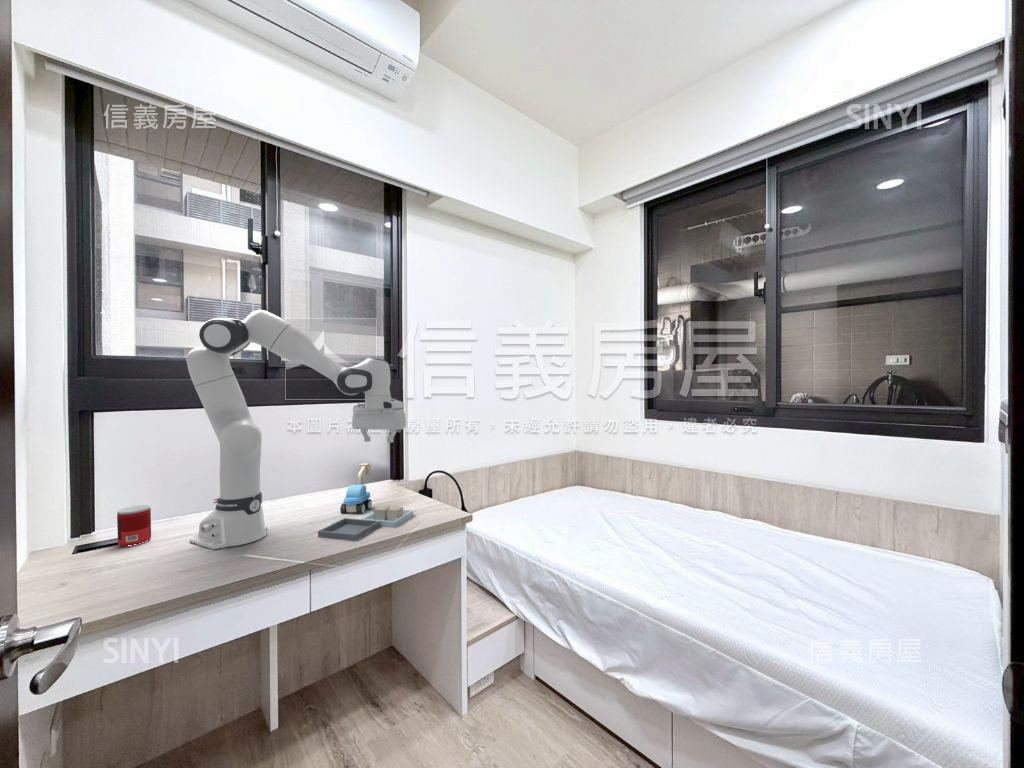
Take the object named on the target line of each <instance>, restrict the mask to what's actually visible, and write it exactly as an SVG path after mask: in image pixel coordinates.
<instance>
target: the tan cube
mask: <svg viewBox="0 0 1024 768" xmlns="http://www.w3.org/2000/svg"><path fill="white" fill-rule="evenodd" d="M388 509H390V506H383V505H379V506H377V507H376V508H374V509H373V513H374V520H384V521H385V520H387V510H388Z"/></svg>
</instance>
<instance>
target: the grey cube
mask: <svg viewBox="0 0 1024 768" xmlns="http://www.w3.org/2000/svg"><path fill="white" fill-rule="evenodd" d="M403 510H404V507H403V506H391V507H389V509H388V510H387V521H395V520H397V519H398V518H400V517H402V516H403Z"/></svg>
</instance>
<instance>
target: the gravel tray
mask: <svg viewBox="0 0 1024 768" xmlns="http://www.w3.org/2000/svg"><path fill="white" fill-rule="evenodd" d="M361 519H362V518H359V519H358V518H349V517H343V518H342V519H340V520H337V521H336V522H334V523H331V524H330V525H327V526H325V527H323V528H321V529H319V530H317V537H318V538H326V539H336V540H346V541H354V542H355V541H357V540H359V539H361V538H363V537H365V536H366V535H368V534H369V533H371V532H373V531H375V530H376V529H378V528H380V527H381V526H380V521H372V520H361Z"/></svg>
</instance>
